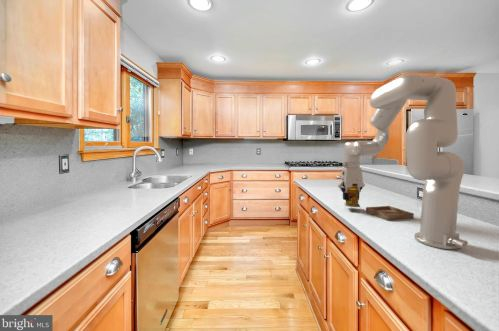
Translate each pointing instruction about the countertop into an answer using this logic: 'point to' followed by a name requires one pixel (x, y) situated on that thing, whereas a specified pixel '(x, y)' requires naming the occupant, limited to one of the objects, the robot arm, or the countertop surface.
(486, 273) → the countertop surface
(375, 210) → the walnut tray
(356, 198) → the condiment
